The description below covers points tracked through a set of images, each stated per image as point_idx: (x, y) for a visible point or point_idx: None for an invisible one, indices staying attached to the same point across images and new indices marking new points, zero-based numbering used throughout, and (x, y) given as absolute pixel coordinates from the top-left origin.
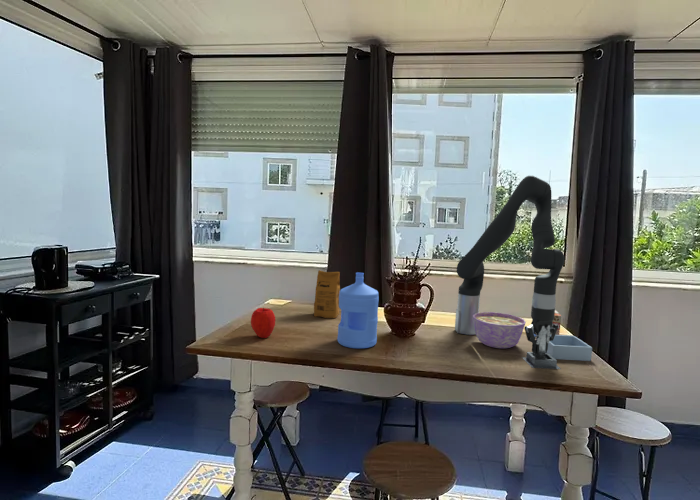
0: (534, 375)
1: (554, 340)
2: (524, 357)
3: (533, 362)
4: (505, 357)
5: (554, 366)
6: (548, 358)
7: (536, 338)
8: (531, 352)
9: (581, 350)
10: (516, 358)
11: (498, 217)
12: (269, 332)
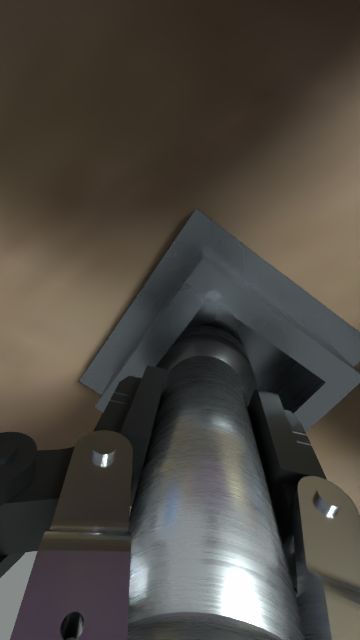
0: (39, 418)
1: None
2: (213, 225)
3: (113, 376)
4: (115, 88)
5: None
6: (282, 405)
7: (130, 529)
8: (233, 292)
9: None
10: (188, 161)
11: None
12: None
